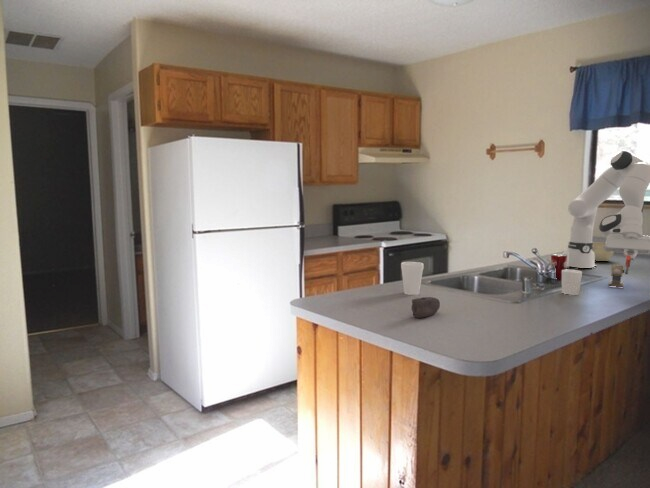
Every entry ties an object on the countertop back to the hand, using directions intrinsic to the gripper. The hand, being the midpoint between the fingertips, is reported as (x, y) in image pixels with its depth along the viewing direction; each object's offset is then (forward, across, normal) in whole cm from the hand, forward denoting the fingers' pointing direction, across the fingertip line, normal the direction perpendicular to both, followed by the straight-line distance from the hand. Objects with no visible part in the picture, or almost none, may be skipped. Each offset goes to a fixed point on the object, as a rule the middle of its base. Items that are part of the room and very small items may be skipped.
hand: (630, 259), depth 219 cm
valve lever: (-1, +1, -12) cm, 12 cm away
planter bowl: (-52, +12, -72) cm, 89 cm away
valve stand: (+4, +4, -15) cm, 17 cm away
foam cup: (+48, +81, +28) cm, 98 cm away
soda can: (+1, +29, -20) cm, 35 cm away
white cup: (+25, +22, +5) cm, 33 cm away
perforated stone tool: (+70, +65, +50) cm, 108 cm away
